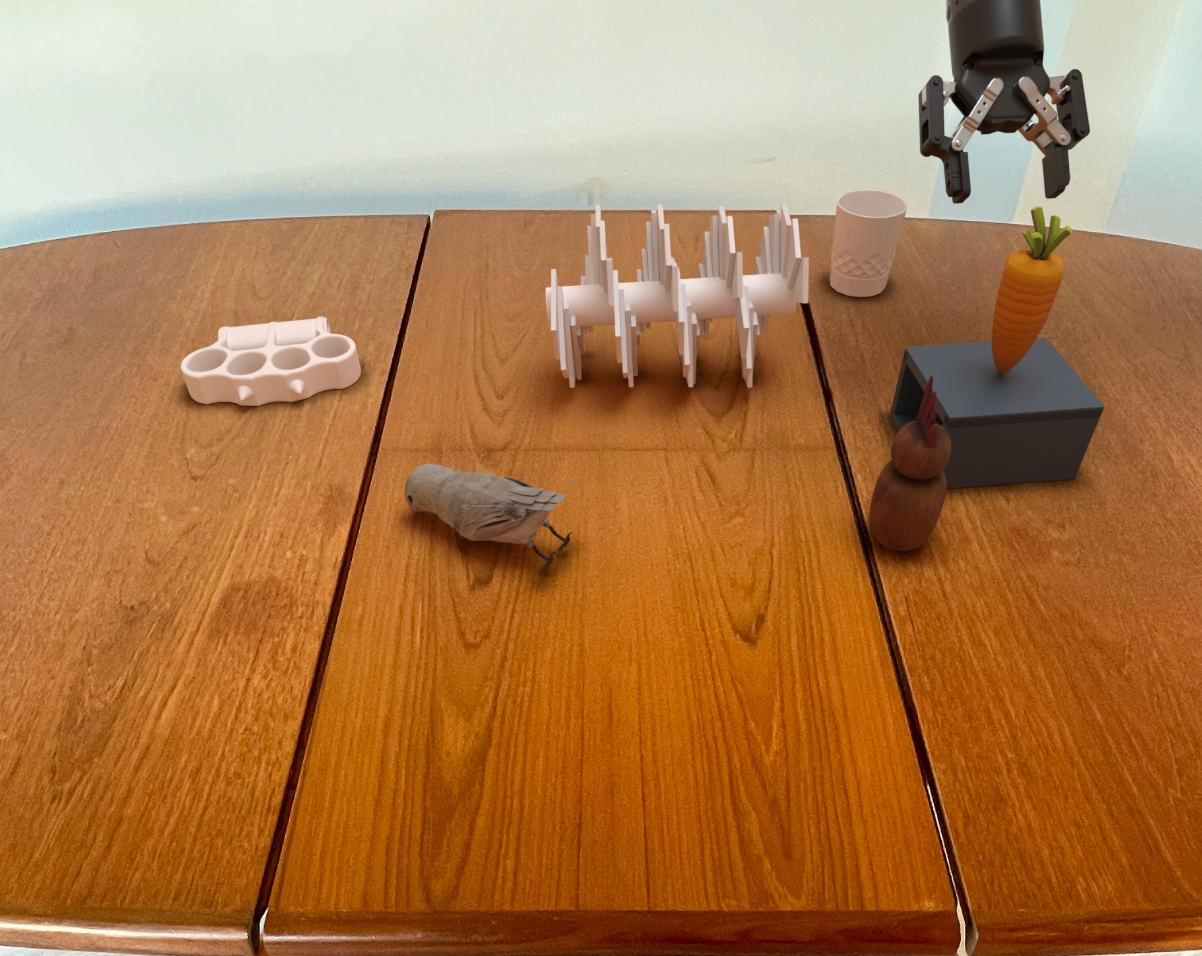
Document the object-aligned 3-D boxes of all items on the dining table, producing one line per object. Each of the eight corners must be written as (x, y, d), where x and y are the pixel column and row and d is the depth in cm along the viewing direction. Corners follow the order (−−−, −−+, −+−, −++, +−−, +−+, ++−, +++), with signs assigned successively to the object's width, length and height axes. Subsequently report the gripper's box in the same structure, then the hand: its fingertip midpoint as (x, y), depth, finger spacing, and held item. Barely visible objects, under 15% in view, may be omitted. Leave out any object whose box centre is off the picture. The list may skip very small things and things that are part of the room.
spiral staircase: (559, 385, 111) (780, 372, 110) (548, 407, 95) (808, 392, 94) (547, 213, 105) (780, 198, 104) (532, 204, 89) (810, 186, 88)
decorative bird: (430, 495, 91) (419, 428, 86) (581, 548, 85) (579, 480, 80) (395, 528, 87) (381, 461, 82) (550, 586, 82) (546, 518, 77)
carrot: (1037, 387, 88) (1095, 223, 77) (983, 389, 88) (1033, 226, 77) (1018, 358, 92) (1070, 198, 81) (965, 360, 91) (1011, 200, 81)
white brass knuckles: (359, 332, 112) (362, 401, 102) (198, 349, 110) (184, 422, 100) (354, 305, 110) (356, 373, 100) (188, 322, 108) (173, 394, 97)
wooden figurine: (872, 506, 89) (907, 360, 78) (937, 521, 87) (981, 374, 77) (856, 552, 84) (890, 404, 74) (924, 569, 83) (969, 420, 72)
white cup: (858, 264, 123) (872, 183, 116) (904, 288, 118) (922, 206, 111) (810, 280, 120) (822, 199, 113) (856, 306, 115) (871, 223, 108)
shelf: (1022, 407, 100) (1046, 337, 94) (1074, 479, 91) (1104, 406, 86) (888, 417, 99) (905, 346, 93) (929, 490, 90) (950, 417, 85)
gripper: (931, -11, 81) (948, 183, 81) (1095, -17, 82) (1112, 174, 82) (898, 42, 89) (913, 219, 89) (1048, 35, 90) (1064, 210, 90)
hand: (1009, 197), depth 86 cm, fingers open, 8 cm apart
